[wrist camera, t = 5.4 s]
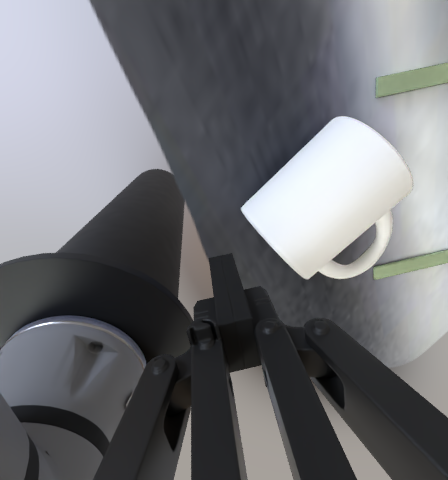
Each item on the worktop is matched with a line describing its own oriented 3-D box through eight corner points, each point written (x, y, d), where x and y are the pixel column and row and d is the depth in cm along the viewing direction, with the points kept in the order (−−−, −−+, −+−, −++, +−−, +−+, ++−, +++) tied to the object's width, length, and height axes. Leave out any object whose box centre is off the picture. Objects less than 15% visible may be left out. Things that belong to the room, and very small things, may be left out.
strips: (373, 278, 31) (374, 280, 30) (375, 78, 23) (378, 77, 23) (477, 254, 31) (479, 255, 31) (512, 49, 24) (516, 48, 23)
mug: (233, 199, 26) (250, 227, 18) (318, 116, 24) (375, 111, 17) (310, 277, 30) (350, 326, 22) (388, 211, 28) (459, 241, 21)
